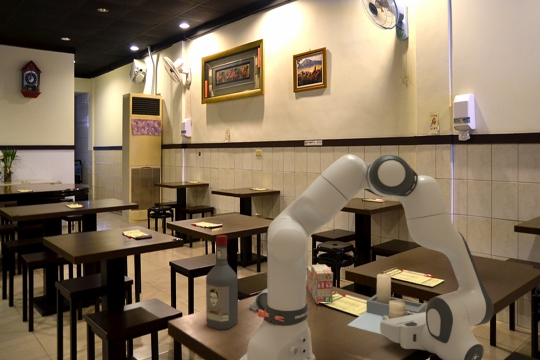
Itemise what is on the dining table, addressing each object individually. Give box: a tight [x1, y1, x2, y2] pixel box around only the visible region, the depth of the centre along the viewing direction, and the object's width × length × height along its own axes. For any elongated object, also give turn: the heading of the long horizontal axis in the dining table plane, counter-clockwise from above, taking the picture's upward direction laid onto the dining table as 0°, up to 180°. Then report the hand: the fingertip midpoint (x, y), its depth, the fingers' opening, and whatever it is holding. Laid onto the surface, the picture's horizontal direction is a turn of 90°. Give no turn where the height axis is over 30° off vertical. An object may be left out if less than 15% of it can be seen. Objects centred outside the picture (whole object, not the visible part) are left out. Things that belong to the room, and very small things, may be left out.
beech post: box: [389, 300, 405, 319], centre depth 130 cm, size 5×5×10 cm
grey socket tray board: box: [347, 273, 427, 335], centre depth 141 cm, size 24×19×14 cm
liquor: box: [205, 234, 239, 331], centre depth 140 cm, size 9×9×30 cm
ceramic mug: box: [249, 288, 267, 311], centre depth 154 cm, size 11×8×8 cm
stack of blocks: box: [306, 264, 334, 305], centre depth 170 cm, size 21×6×12 cm, turn 5°
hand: (394, 315), depth 131 cm, fingers open, 7 cm apart
